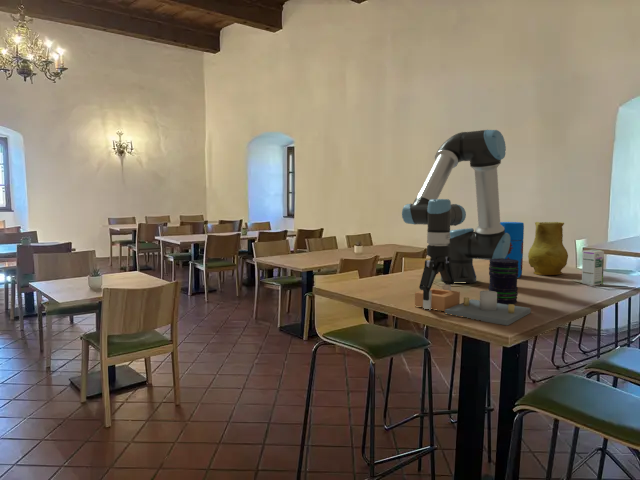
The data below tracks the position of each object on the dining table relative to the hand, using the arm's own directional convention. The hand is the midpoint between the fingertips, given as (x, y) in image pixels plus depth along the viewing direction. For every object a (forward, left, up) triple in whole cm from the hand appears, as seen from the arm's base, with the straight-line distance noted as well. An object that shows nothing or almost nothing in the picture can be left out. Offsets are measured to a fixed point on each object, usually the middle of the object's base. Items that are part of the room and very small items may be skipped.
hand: (437, 306), depth 163 cm
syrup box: (+30, +79, 0) cm, 85 cm away
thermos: (-4, +77, 0) cm, 77 cm away
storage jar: (+14, +22, 0) cm, 26 cm away
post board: (+17, +2, 0) cm, 17 cm away
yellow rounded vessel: (+8, +94, 0) cm, 95 cm away
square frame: (0, 0, 0) cm, 0 cm away
